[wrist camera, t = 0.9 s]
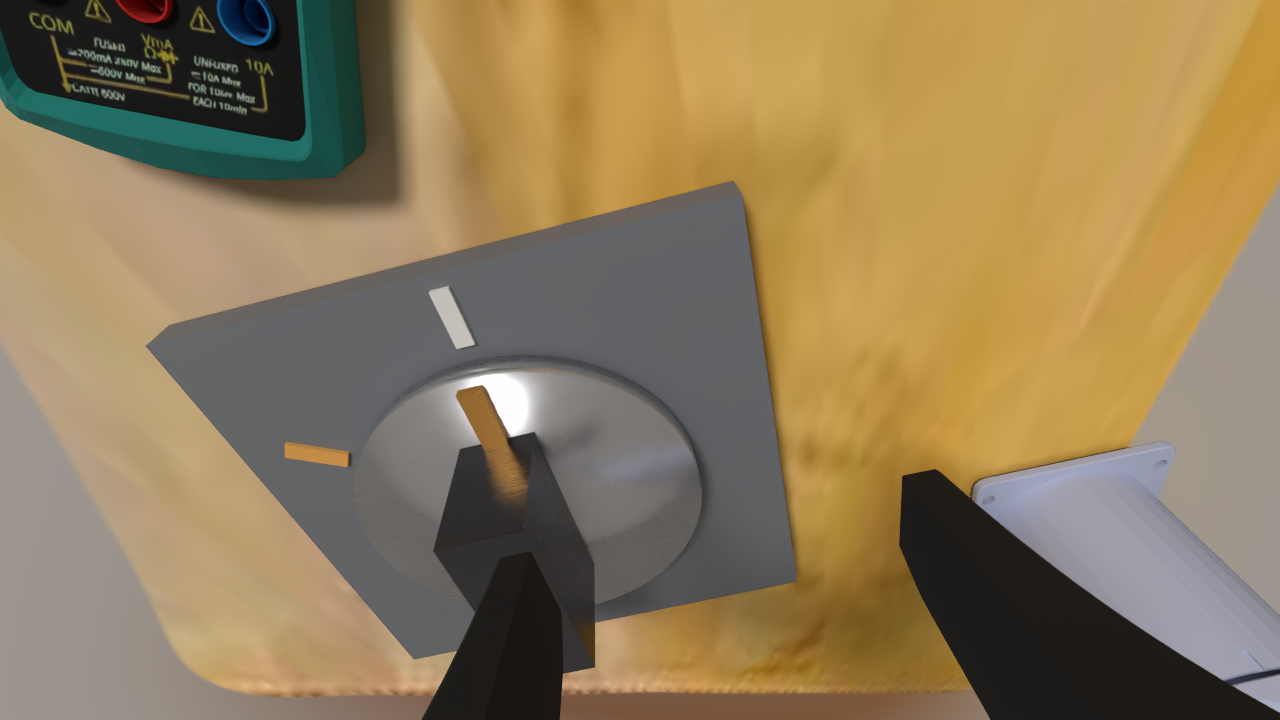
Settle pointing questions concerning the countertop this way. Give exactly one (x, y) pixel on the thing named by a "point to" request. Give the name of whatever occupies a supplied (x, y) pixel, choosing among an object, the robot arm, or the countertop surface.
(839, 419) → the countertop surface
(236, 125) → the digital multimeter
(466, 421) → the dial
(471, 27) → the countertop surface
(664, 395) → the dial panel
